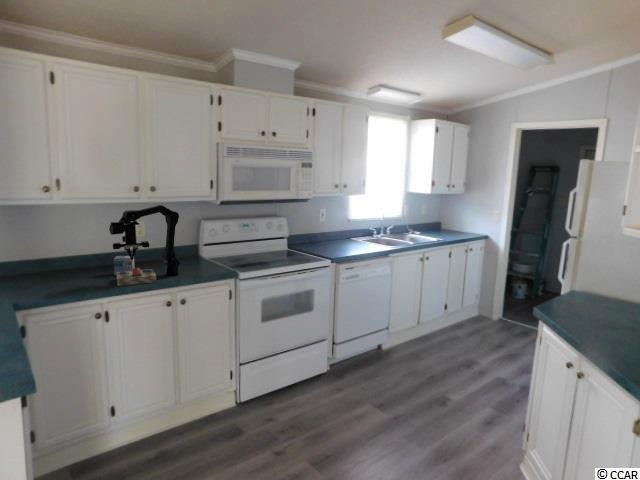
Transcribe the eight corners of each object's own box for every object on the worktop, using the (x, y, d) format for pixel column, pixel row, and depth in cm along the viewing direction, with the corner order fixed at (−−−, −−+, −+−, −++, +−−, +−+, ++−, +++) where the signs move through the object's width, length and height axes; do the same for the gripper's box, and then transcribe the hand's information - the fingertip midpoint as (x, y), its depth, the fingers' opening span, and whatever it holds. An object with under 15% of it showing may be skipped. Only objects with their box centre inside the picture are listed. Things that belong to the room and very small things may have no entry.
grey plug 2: (149, 276, 244) (149, 268, 244) (150, 277, 241) (150, 270, 240) (142, 276, 242) (142, 269, 242) (143, 278, 239) (143, 270, 238)
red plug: (140, 275, 234) (139, 267, 233) (140, 276, 231) (140, 269, 230) (132, 275, 232) (132, 268, 232) (133, 277, 229) (132, 269, 228)
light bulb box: (114, 275, 246) (113, 258, 244) (116, 272, 252) (115, 255, 250) (133, 274, 249) (132, 257, 247) (135, 272, 255) (134, 255, 253)
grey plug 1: (128, 277, 239) (127, 270, 238) (128, 279, 235) (128, 271, 235) (120, 278, 237) (120, 271, 236) (120, 280, 233) (120, 272, 233)
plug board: (153, 275, 247) (152, 269, 247) (156, 282, 233) (156, 275, 233) (116, 279, 238) (116, 272, 237) (117, 285, 224) (117, 278, 223)
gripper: (147, 230, 240) (148, 256, 243) (112, 231, 232) (113, 258, 234) (148, 232, 230) (150, 259, 233) (111, 234, 222) (113, 262, 225)
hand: (132, 259), depth 231 cm, fingers closed
